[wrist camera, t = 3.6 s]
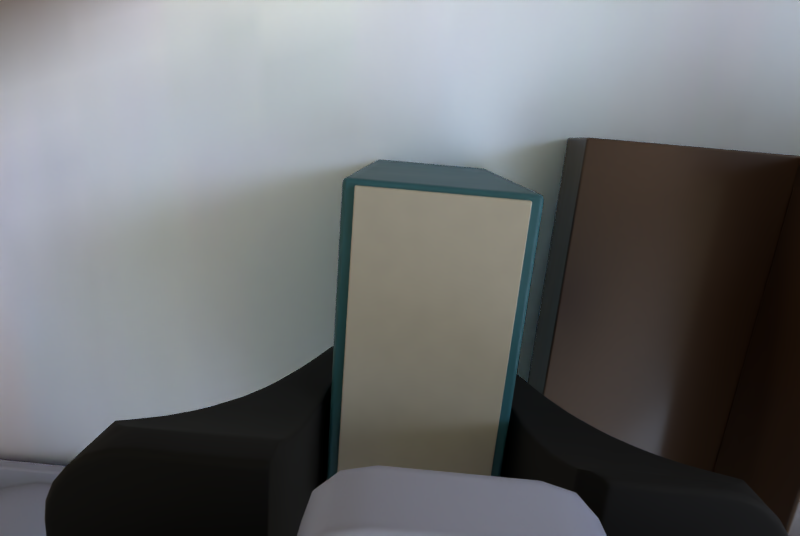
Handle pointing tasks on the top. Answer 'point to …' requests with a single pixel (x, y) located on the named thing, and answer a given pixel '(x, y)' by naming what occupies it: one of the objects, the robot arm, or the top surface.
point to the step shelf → (680, 307)
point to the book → (429, 316)
